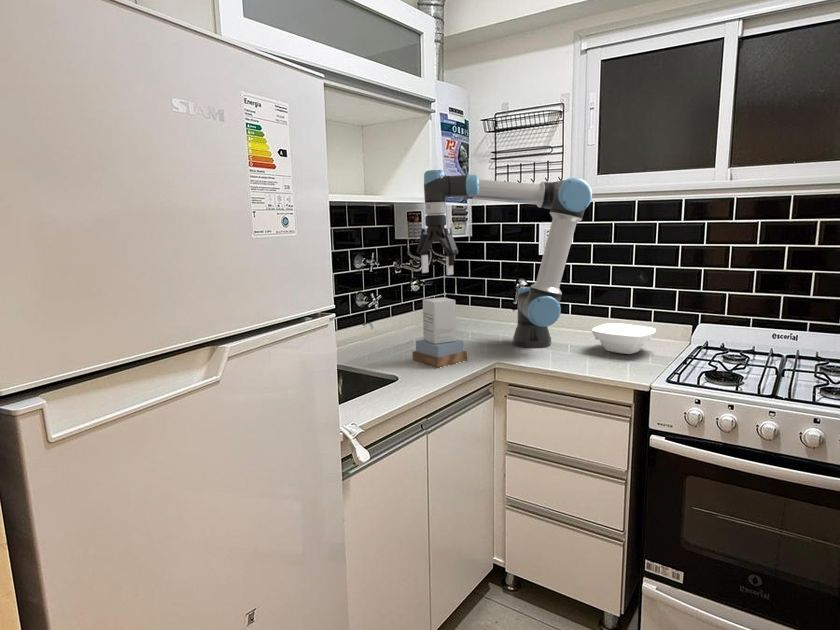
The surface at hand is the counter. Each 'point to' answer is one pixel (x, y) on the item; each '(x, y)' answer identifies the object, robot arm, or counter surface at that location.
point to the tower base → (439, 359)
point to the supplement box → (439, 320)
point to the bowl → (623, 337)
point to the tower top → (439, 348)
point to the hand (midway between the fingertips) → (437, 273)
